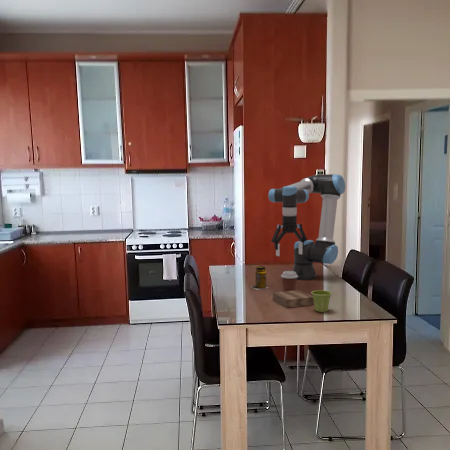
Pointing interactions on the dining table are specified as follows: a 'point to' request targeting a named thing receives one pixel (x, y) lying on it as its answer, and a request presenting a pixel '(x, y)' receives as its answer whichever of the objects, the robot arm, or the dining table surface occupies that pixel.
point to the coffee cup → (289, 280)
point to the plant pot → (321, 300)
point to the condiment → (260, 278)
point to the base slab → (293, 298)
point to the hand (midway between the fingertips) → (289, 255)
